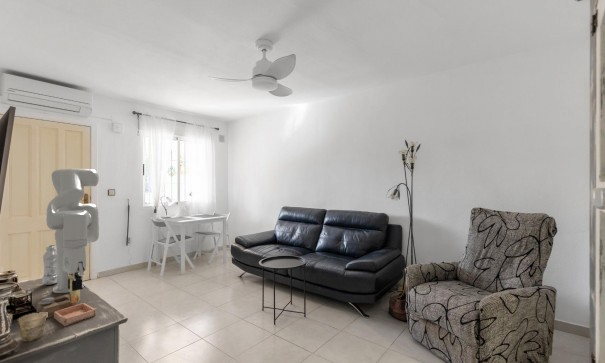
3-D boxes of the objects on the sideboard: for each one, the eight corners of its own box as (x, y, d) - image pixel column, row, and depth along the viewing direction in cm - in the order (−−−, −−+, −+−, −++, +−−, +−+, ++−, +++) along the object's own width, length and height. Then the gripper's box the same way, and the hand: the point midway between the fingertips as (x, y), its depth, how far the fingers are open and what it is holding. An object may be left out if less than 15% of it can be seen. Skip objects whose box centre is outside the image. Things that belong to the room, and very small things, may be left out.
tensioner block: (37, 312, 117) (37, 298, 117) (67, 303, 125) (67, 290, 125) (45, 318, 112) (45, 304, 111) (76, 309, 120) (76, 295, 120)
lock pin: (66, 301, 112) (66, 274, 112) (79, 298, 116) (79, 271, 116) (70, 304, 110) (70, 276, 110) (83, 300, 114) (83, 273, 114)
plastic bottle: (49, 281, 150) (49, 244, 150) (62, 281, 150) (62, 244, 150) (38, 286, 143) (38, 247, 143) (52, 286, 144) (53, 247, 144)
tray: (53, 318, 112) (53, 311, 112) (83, 308, 121) (83, 302, 121) (64, 326, 106) (64, 319, 106) (95, 315, 115) (95, 309, 115)
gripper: (55, 242, 114) (55, 287, 114) (72, 247, 105) (71, 296, 105) (78, 239, 121) (77, 282, 121) (95, 244, 112) (95, 290, 112)
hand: (75, 288), depth 113 cm, fingers closed on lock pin, 3 cm apart
